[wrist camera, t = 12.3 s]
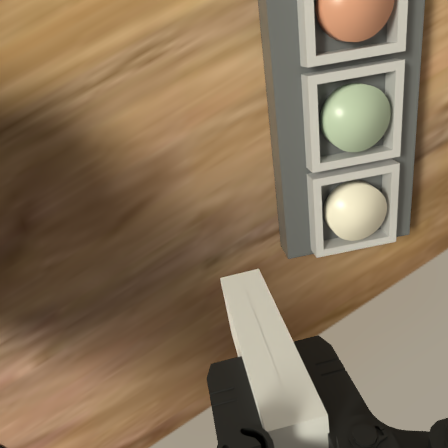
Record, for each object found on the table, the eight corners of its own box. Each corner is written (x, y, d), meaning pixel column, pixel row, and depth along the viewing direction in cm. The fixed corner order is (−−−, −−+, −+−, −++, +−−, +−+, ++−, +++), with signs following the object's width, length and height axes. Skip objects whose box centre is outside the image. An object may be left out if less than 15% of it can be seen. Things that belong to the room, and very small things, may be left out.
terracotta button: (316, 46, 35) (324, 47, 34) (313, -34, 33) (321, -38, 31) (383, 35, 36) (393, 35, 34) (385, -45, 33) (396, -49, 31)
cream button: (324, 237, 44) (330, 245, 42) (322, 185, 41) (329, 192, 39) (377, 227, 44) (386, 234, 42) (379, 175, 41) (388, 180, 40)
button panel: (280, 246, 47) (293, 267, 43) (253, -49, 35) (267, -60, 30) (395, 223, 48) (418, 241, 44) (409, -72, 36) (444, -86, 31)
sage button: (321, 152, 39) (328, 157, 38) (318, 88, 37) (325, 91, 35) (380, 141, 40) (389, 146, 38) (381, 77, 37) (391, 79, 36)
